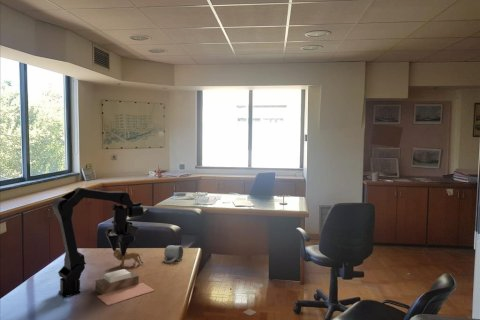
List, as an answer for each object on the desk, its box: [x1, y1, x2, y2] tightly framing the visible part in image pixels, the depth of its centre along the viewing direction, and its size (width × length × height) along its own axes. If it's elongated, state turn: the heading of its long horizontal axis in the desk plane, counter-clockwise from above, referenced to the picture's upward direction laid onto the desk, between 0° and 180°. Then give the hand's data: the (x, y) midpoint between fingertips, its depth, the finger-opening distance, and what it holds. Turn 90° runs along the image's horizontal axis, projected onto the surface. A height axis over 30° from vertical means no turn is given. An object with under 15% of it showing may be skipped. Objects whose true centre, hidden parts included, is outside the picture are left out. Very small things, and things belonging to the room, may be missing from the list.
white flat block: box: [103, 268, 131, 283], centre depth 147 cm, size 9×6×2 cm, turn 134°
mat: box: [97, 282, 155, 306], centre depth 141 cm, size 20×10×1 cm, turn 134°
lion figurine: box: [113, 247, 144, 268], centre depth 173 cm, size 15×5×9 cm, turn 108°
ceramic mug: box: [163, 244, 184, 264], centre depth 182 cm, size 11×8×8 cm
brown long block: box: [94, 270, 140, 295], centre depth 147 cm, size 16×7×4 cm, turn 134°
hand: (118, 253), depth 156 cm, fingers open, 9 cm apart
